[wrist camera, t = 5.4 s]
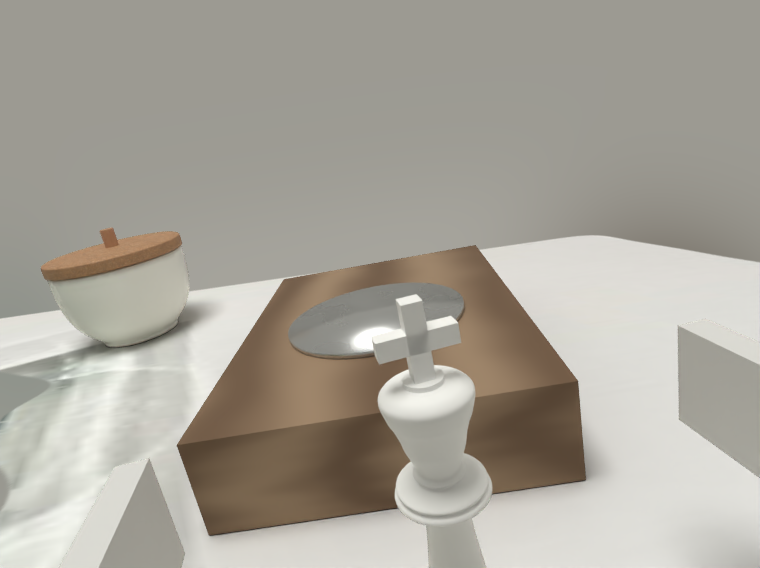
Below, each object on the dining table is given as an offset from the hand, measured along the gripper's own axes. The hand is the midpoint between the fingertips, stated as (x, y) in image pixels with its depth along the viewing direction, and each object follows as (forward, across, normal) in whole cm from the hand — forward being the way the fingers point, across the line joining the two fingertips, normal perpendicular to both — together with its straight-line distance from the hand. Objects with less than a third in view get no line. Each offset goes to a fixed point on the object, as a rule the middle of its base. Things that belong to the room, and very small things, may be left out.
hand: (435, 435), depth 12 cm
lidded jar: (+34, -18, -6) cm, 39 cm away
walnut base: (+15, 0, -6) cm, 16 cm away
